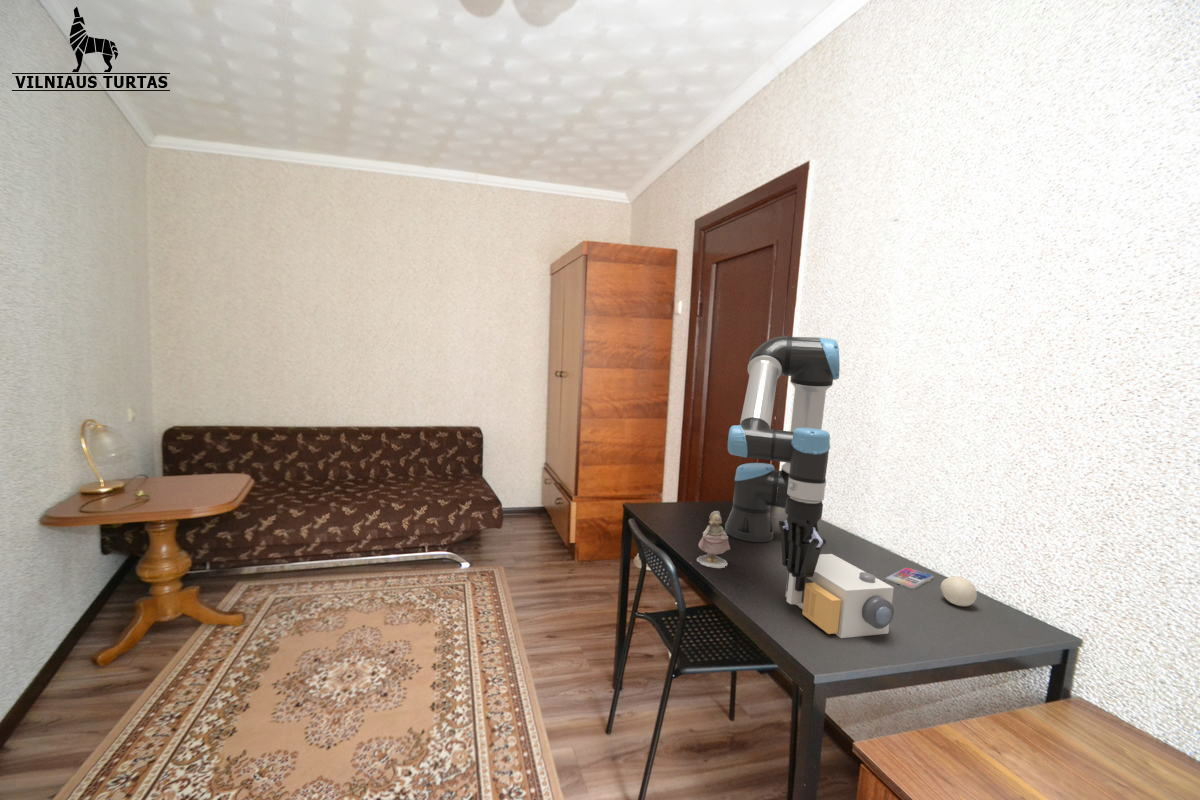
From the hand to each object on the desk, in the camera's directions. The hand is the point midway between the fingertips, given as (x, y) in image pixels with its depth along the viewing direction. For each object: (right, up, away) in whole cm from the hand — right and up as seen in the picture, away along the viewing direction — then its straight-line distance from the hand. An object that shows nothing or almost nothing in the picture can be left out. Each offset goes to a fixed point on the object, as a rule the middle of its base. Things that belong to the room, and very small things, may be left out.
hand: (793, 602), depth 110 cm
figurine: (-13, 0, +25) cm, 28 cm away
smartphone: (+41, -4, +24) cm, 47 cm away
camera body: (+9, -3, -1) cm, 10 cm away
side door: (+3, -3, -6) cm, 7 cm away
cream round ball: (+44, -5, +10) cm, 45 cm away
